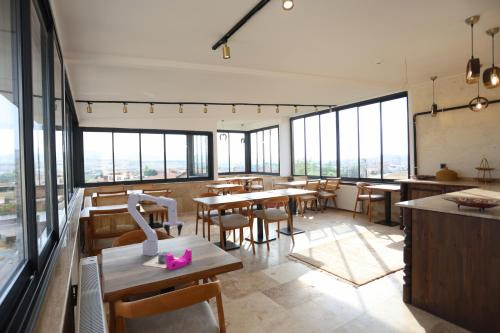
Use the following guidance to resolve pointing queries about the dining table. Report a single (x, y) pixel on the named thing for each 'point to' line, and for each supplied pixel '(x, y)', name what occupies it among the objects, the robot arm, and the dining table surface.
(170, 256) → the toy block
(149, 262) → the letter board
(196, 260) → the dining table surface
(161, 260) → the slate-blue cube
